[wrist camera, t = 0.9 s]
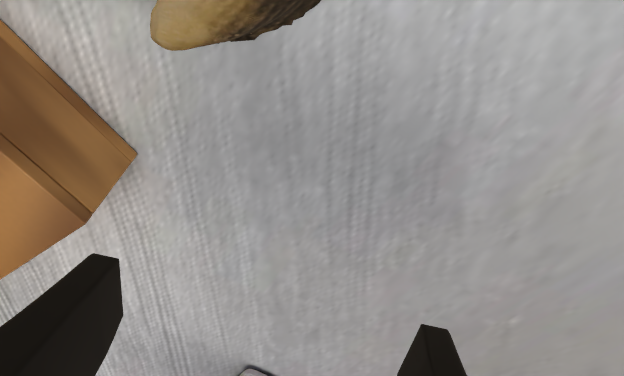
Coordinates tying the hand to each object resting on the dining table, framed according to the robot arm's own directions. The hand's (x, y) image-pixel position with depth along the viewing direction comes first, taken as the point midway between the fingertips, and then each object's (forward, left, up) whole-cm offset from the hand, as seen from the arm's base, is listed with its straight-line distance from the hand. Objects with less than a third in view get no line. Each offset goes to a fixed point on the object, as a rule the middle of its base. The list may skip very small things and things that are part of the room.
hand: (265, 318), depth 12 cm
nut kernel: (+3, +5, -10) cm, 12 cm away
